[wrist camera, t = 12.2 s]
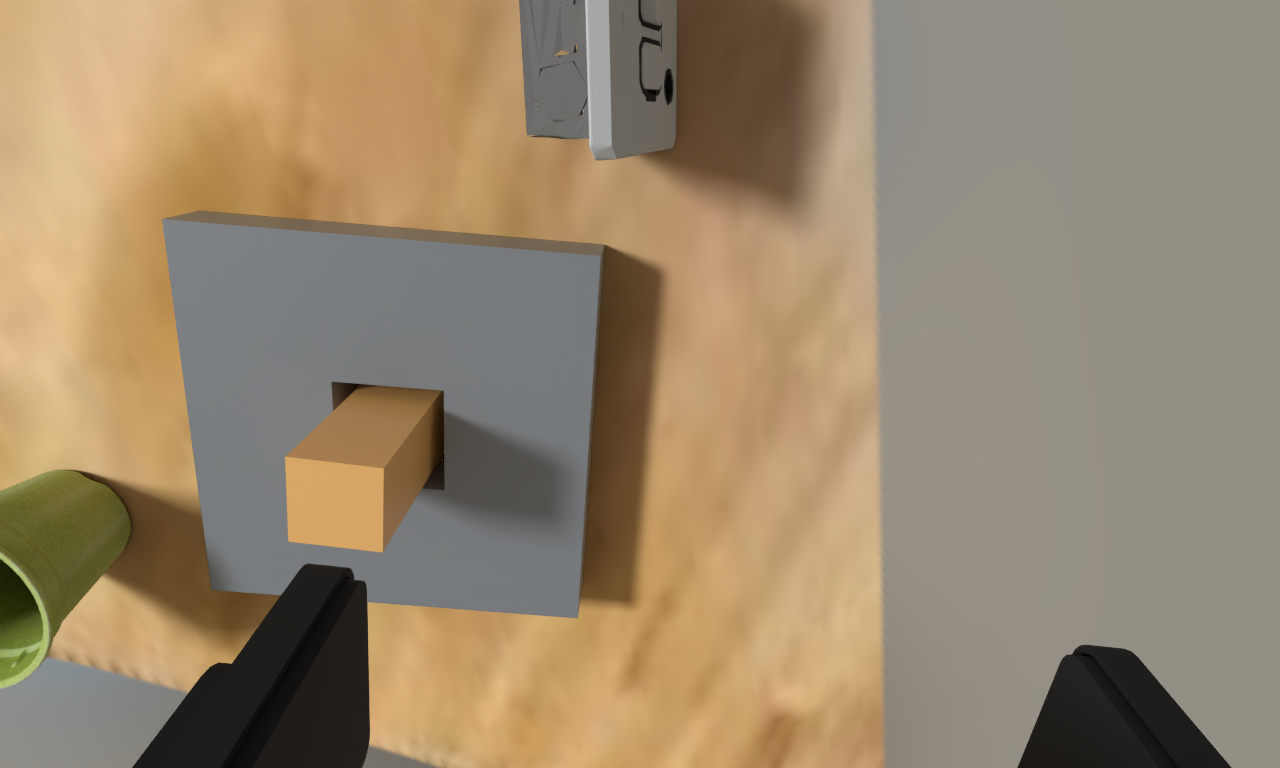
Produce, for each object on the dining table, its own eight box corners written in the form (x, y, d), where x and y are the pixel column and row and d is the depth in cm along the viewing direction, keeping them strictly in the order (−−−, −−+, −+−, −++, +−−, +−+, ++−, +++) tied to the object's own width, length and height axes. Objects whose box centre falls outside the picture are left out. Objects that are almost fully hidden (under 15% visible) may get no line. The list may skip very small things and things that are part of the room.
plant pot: (53, 602, 45) (-78, 710, 37) (-40, 467, 42) (-204, 552, 34) (191, 563, 44) (87, 665, 36) (106, 421, 41) (-28, 498, 33)
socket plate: (199, 210, 37) (162, 219, 35) (604, 244, 38) (600, 255, 35) (239, 559, 44) (211, 589, 41) (582, 585, 44) (577, 618, 42)
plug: (370, 375, 40) (284, 456, 31) (446, 384, 40) (383, 468, 31) (370, 443, 42) (288, 541, 32) (443, 452, 42) (382, 552, 32)
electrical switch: (677, 148, 36) (659, 161, 27) (570, 149, 37) (520, 162, 28) (678, -77, 33) (659, -144, 24) (561, -73, 33) (501, -136, 25)
